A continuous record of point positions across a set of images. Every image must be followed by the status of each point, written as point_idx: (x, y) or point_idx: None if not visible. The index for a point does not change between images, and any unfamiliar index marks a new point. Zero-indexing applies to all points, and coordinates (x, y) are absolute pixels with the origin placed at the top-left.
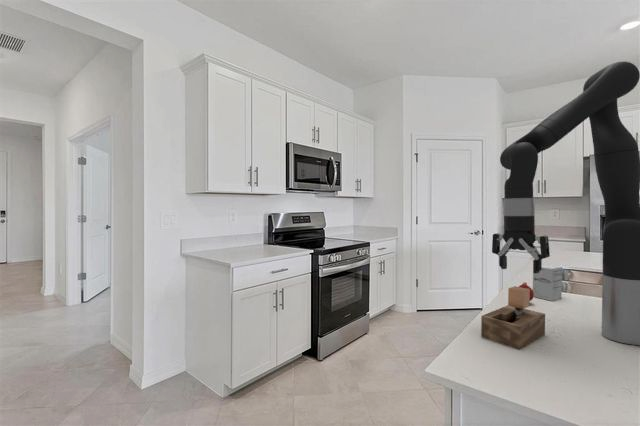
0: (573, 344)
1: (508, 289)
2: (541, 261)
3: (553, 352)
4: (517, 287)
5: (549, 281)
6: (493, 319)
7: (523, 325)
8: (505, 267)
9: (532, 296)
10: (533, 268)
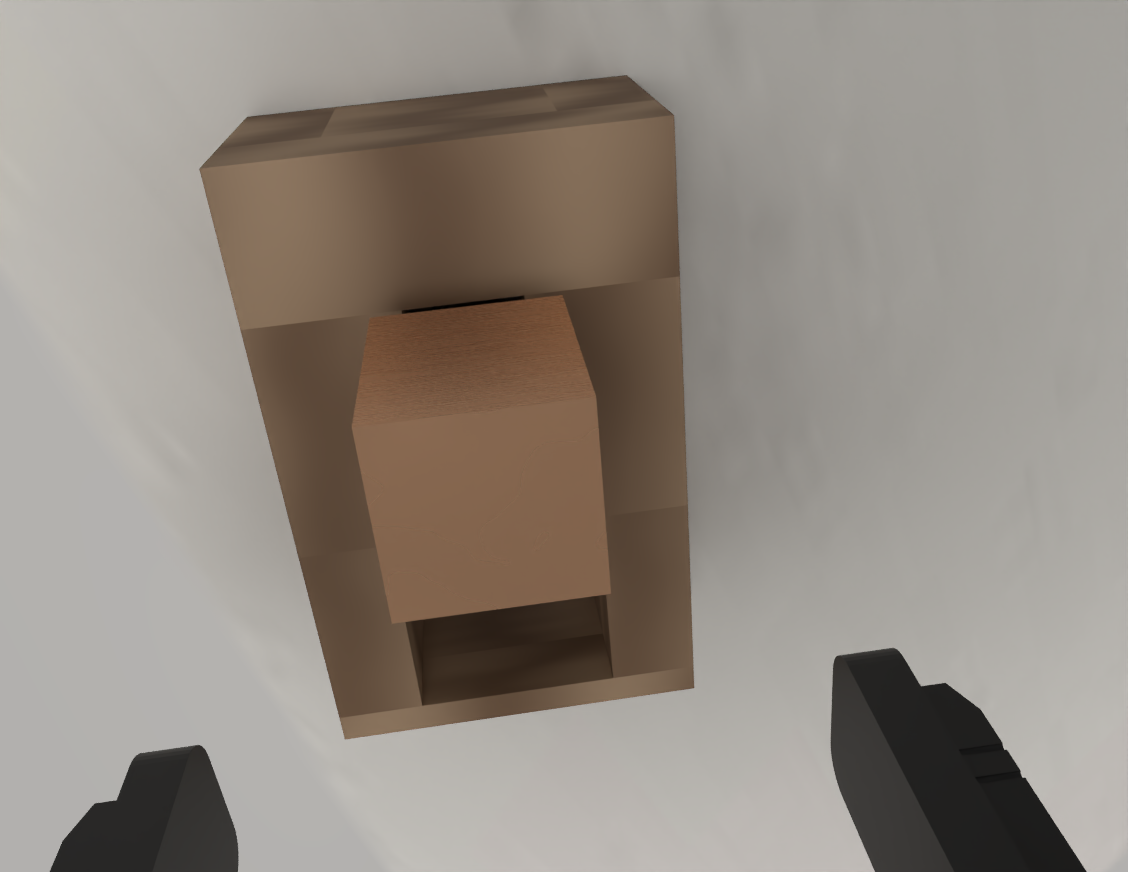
0: (883, 97)
1: (393, 611)
2: (1079, 863)
3: (824, 410)
4: (428, 465)
5: None
6: (464, 720)
7: (690, 623)
8: (207, 806)
9: None
10: (871, 852)
